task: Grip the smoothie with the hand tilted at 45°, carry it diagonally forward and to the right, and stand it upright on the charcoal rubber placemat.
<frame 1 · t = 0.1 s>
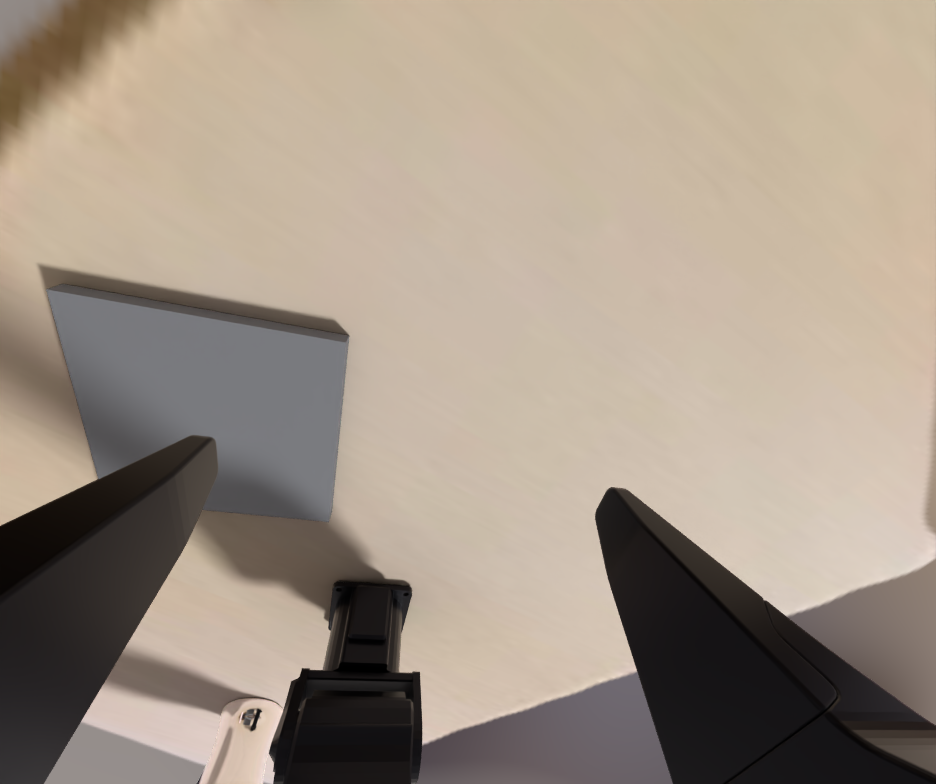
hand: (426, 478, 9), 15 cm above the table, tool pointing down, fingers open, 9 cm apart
beer glass: (254, 708, 43), on the table
placemat: (222, 418, 25), on the table
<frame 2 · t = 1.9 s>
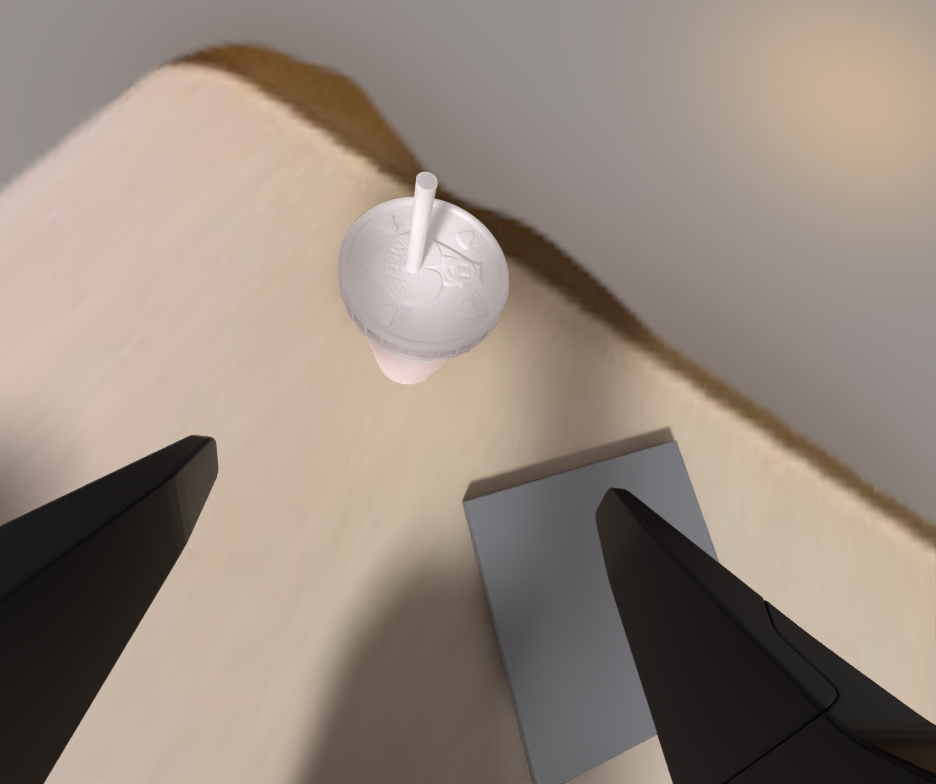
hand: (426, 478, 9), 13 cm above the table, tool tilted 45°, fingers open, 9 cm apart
smoothie: (407, 355, 24), on the table
placemat: (607, 589, 23), on the table
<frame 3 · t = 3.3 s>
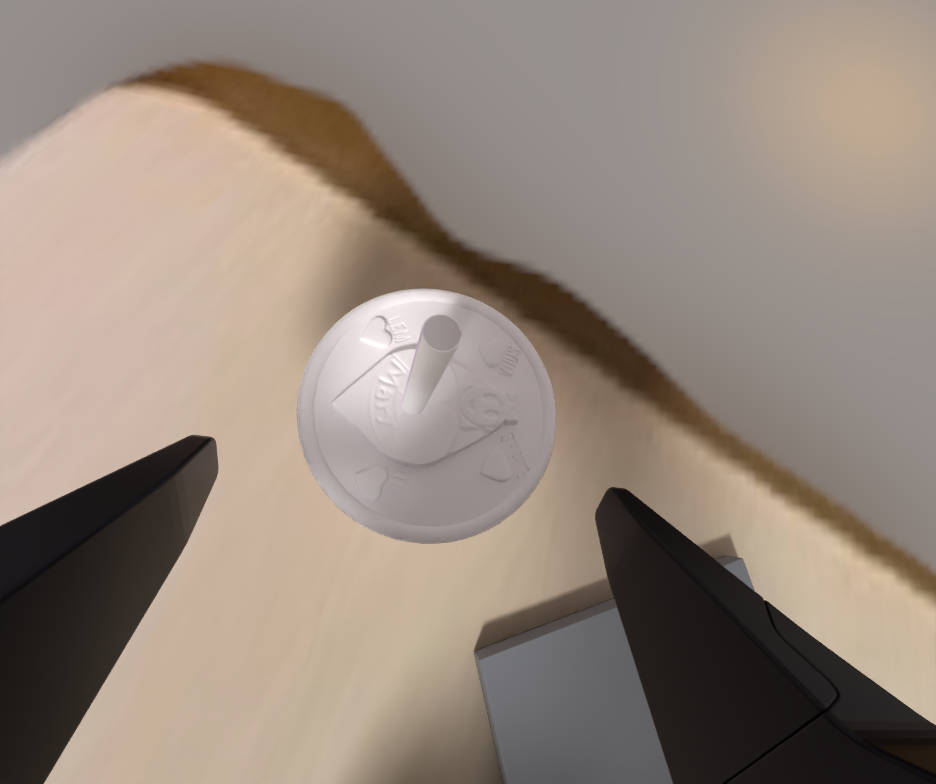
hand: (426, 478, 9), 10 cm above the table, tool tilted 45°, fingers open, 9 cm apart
smoothie: (406, 451, 19), on the table
placemat: (661, 766, 18), on the table
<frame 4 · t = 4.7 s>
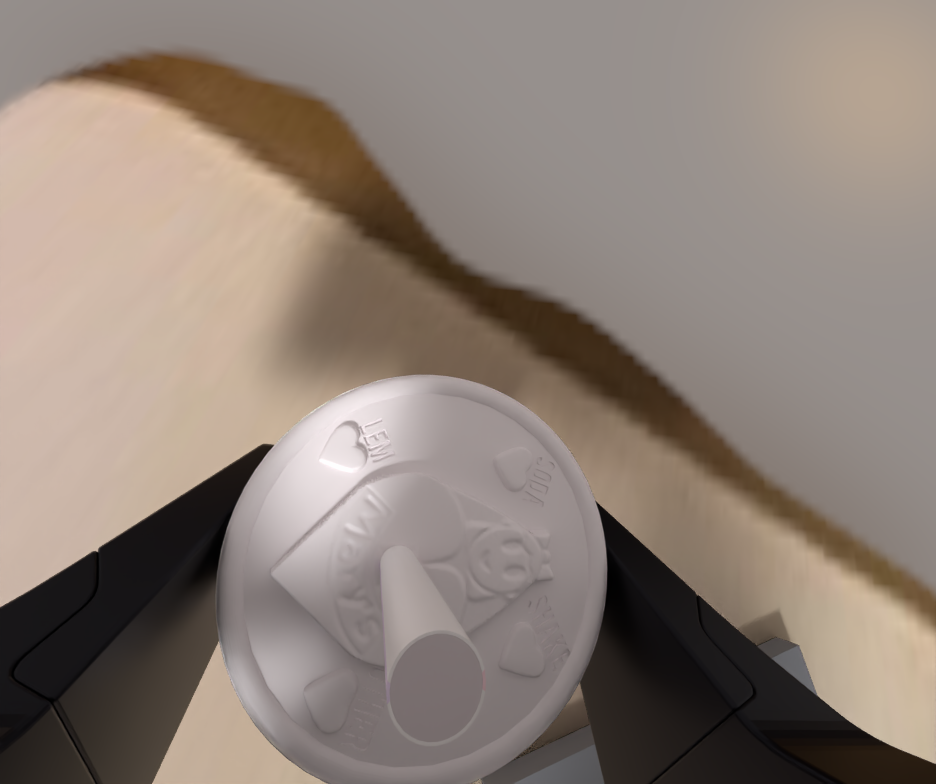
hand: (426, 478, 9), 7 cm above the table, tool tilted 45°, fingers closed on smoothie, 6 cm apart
smoothie: (399, 522, 16), on the table, touching gripper
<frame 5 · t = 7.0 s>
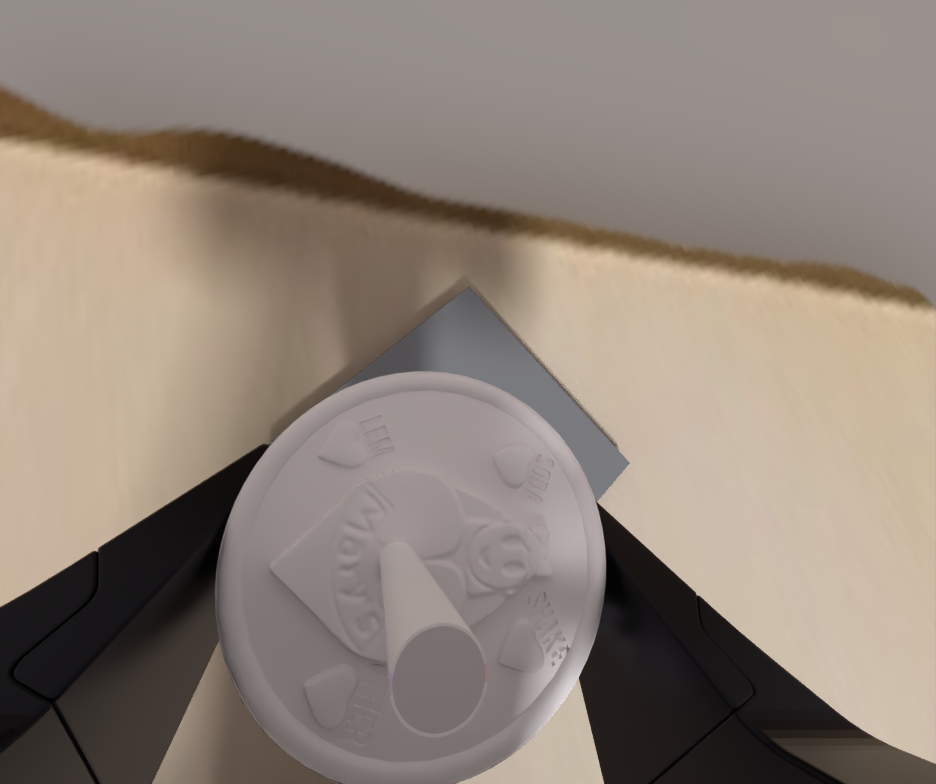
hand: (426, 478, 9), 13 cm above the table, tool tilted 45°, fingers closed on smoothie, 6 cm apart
smoothie: (397, 519, 16), point 6 cm above the table, touching gripper
placemat: (460, 456, 22), on the table
when the fingers open (9 cm above the table, at t = 9.5 s): smoothie drops 1 cm, resting on placemat.
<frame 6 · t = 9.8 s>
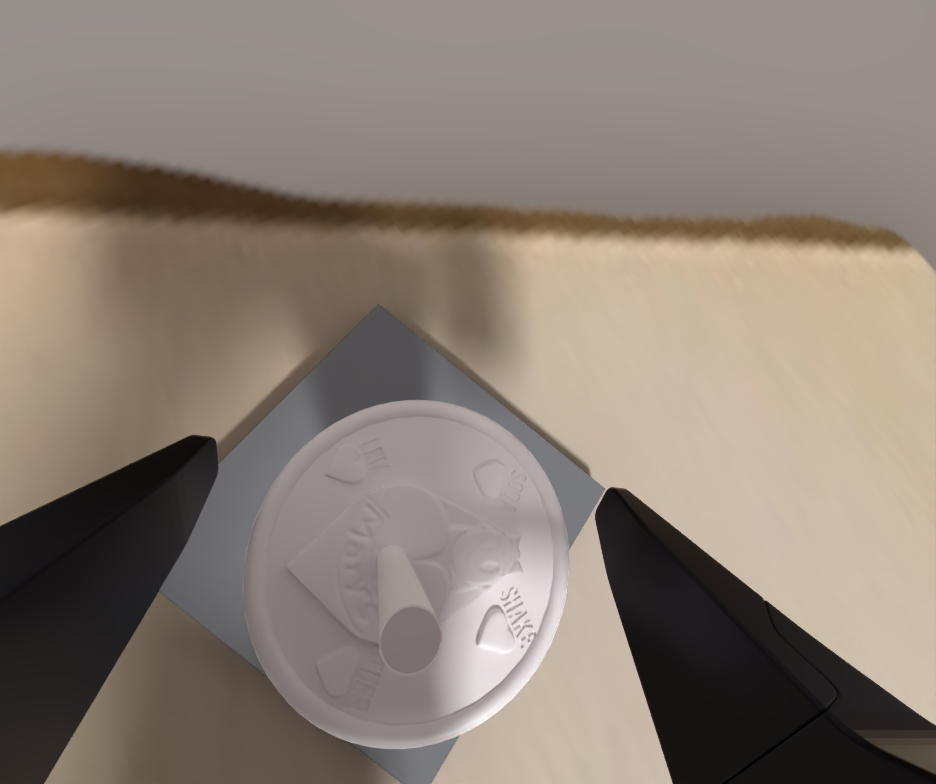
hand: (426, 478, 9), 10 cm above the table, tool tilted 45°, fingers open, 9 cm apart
smoothie: (396, 521, 17), point 1 cm above the table, touching placemat
placemat: (396, 518, 18), on the table
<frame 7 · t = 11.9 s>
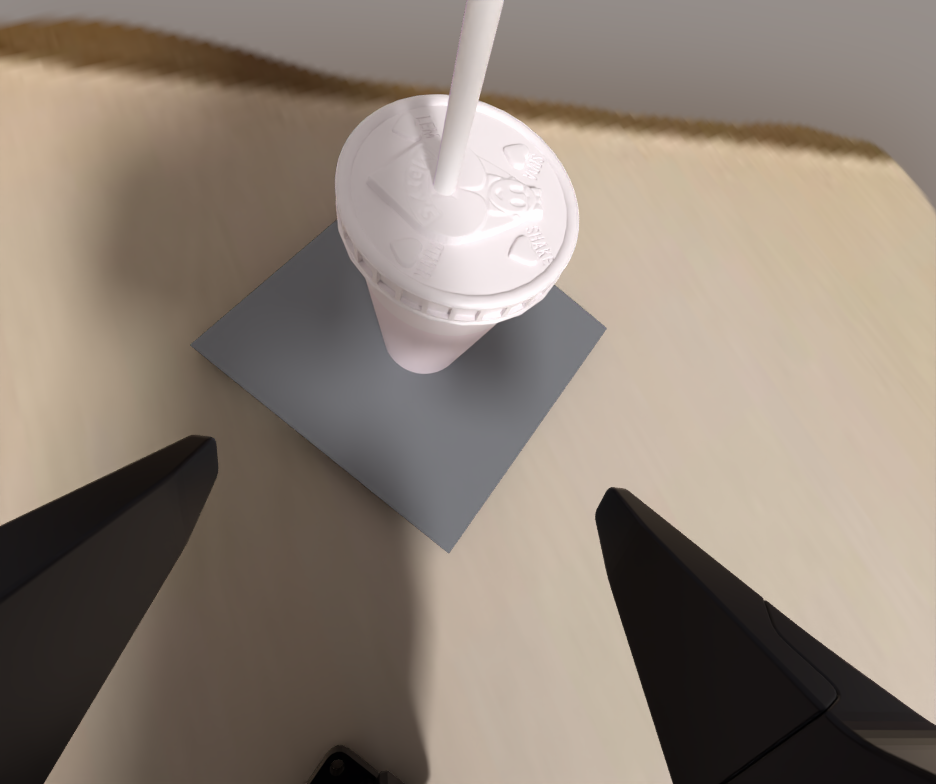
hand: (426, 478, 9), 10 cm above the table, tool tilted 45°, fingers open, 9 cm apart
smoothie: (423, 338, 19), point 1 cm above the table, touching placemat
placemat: (422, 343, 20), on the table
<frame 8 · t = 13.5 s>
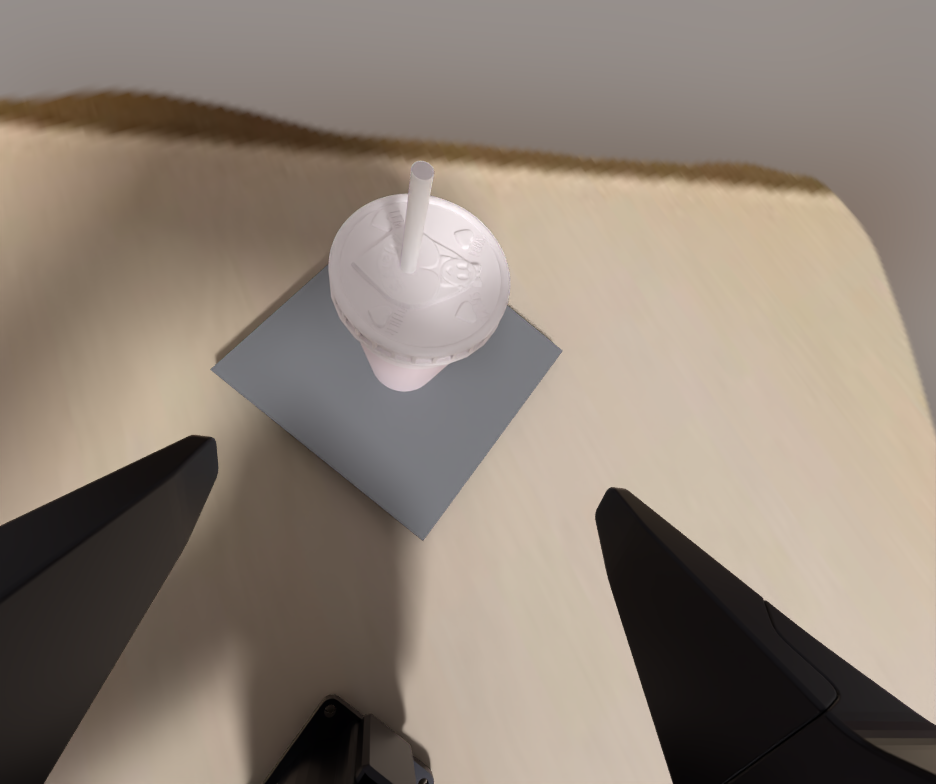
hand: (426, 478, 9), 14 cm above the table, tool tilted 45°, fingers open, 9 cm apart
smoothie: (403, 361, 23), point 1 cm above the table, touching placemat
placemat: (403, 364, 24), on the table
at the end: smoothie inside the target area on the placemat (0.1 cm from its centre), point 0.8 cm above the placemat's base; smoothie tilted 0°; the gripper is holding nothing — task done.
